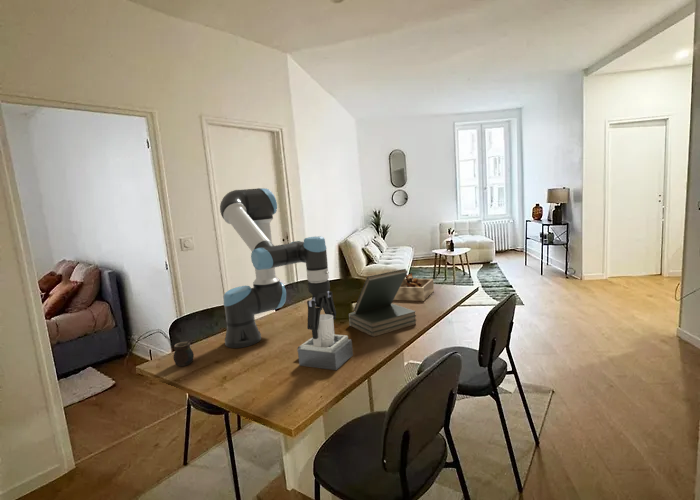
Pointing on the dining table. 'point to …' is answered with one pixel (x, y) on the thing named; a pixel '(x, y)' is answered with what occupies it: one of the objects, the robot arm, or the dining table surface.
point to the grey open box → (326, 353)
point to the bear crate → (415, 290)
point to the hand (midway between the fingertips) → (324, 341)
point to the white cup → (326, 330)
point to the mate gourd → (183, 354)
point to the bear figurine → (412, 281)
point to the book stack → (381, 305)
